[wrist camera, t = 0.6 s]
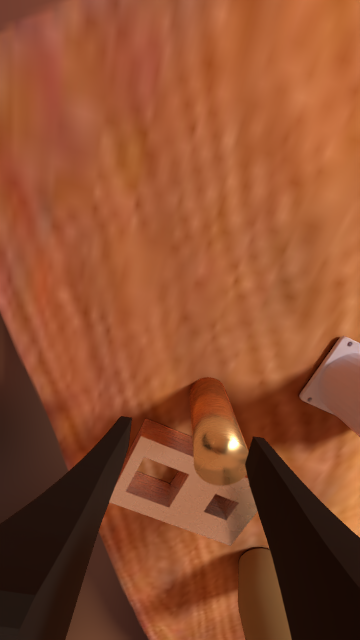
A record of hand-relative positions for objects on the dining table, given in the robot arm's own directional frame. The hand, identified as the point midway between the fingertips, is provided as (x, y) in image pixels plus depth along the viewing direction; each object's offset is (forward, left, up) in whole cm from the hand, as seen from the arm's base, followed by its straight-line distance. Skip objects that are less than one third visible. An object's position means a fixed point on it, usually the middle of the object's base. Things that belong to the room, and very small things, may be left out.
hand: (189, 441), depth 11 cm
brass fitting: (-4, +2, -10) cm, 10 cm away
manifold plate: (-7, +13, -9) cm, 17 cm away
